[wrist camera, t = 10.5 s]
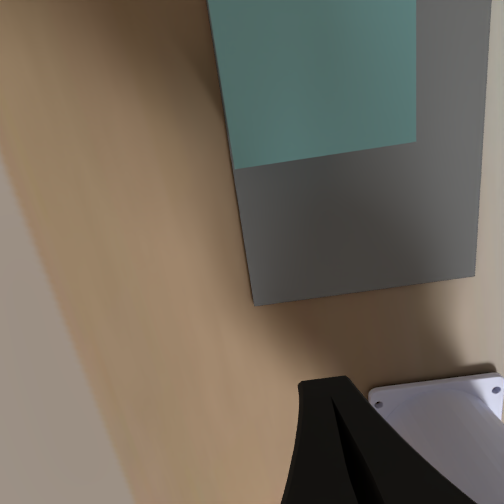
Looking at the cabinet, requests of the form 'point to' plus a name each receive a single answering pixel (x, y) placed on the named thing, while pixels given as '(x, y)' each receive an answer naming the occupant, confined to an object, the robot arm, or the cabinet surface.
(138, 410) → the cabinet surface
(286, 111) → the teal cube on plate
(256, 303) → the mat
